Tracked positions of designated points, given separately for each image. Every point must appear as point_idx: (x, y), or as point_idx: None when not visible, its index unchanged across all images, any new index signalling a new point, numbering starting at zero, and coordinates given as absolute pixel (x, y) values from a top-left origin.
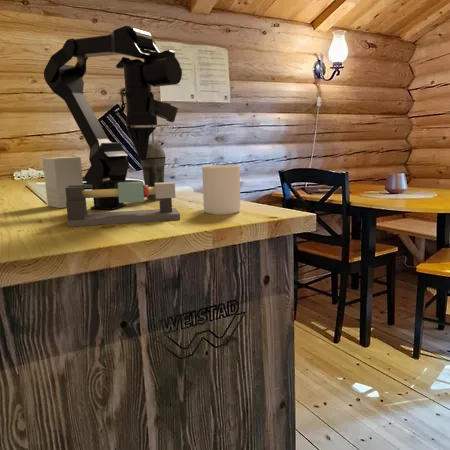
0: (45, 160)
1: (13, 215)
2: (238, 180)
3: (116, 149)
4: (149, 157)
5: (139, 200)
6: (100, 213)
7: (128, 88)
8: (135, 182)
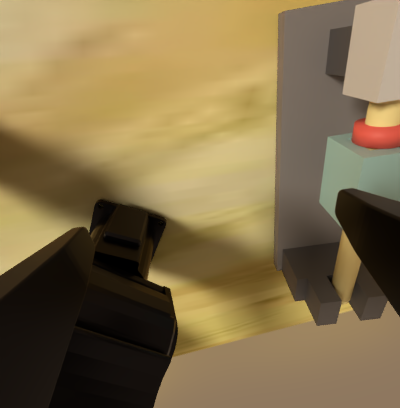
0: None
1: (192, 344)
2: None
3: (65, 388)
4: None
5: None
6: (290, 226)
7: None
8: (390, 178)
